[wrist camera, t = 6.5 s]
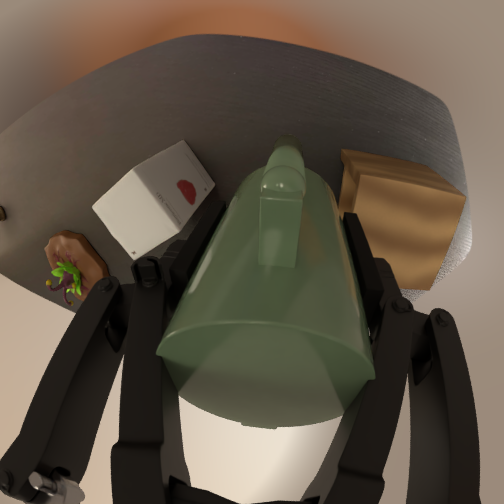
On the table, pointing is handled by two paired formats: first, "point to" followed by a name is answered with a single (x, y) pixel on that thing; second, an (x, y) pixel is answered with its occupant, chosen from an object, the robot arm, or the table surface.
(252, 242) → the jug
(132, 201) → the rectangular carton
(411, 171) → the stand
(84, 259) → the plant
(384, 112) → the table surface
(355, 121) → the table surface
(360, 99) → the table surface
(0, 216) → the kendama
